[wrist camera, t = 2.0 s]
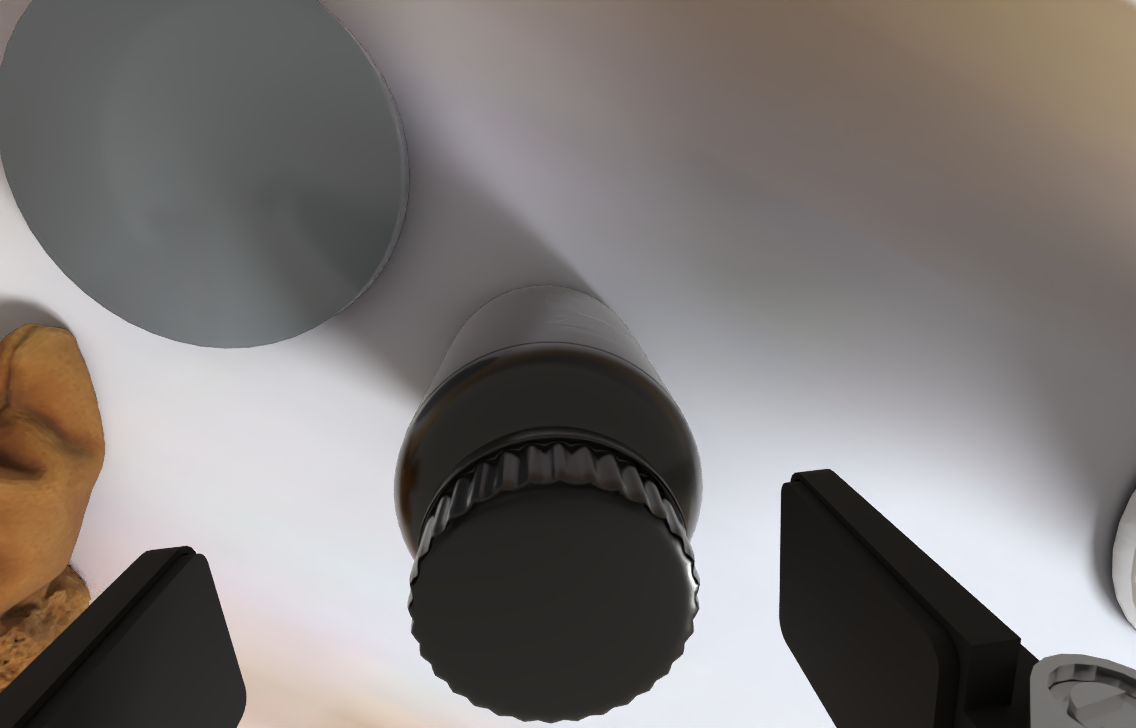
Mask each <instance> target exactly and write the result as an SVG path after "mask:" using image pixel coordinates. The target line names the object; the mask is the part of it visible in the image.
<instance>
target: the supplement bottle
mask: <svg viewBox="0 0 1136 728" xmlns="http://www.w3.org/2000/svg"><path fill="white" fill-rule="evenodd" d="M702 488H703V486H702V469H701V463H700V457H699V453H698V450H697V446H696V443H695V440H694V438H693V435H692V433H691V430H690V428H689V426H688V424H687V422H686V420H685V418H684V416H683V414H682V412H681V410H680V409H679V407H678V405H677V404H676V402H675V401H674V399H673V398H672V396H671V394H670V393H669V391H668V390H667V388H666V387H665V385H664V383H663V382H662V380H661V379H660V377H659V376H658V374H657V372H656V371H655V369H654V368H653V366H652V364H651V363H650V361H649V360H648V358H647V357H646V355H645V353H644V352H643V350H642V349H641V347H640V346H639V344H638V342H637V341H636V339H635V338H634V336H633V335H632V333H631V332H630V331H629V329H628V328H627V326H626V325H625V324H624V323H623V322H622V320H621V319H620V318H619V317H618V316H617V315H616V314H615V313H614V312H613V311H612V310H610V309H609V308H608V307H607V306H605V305H604V304H603V303H601V302H600V301H598V300H597V299H595V298H593V297H591V296H589V295H587V294H585V293H582V292H579V291H577V290H573V289H570V288H565V287H560V286H550V285H539V286H529V287H524V288H519V289H516V290H512V291H509V292H507V293H504V294H502V295H500V296H498V297H496V298H494V299H492V300H491V301H489V302H488V303H486V304H485V305H483V306H482V307H481V308H480V309H478V310H477V311H476V312H475V313H474V314H473V315H472V316H471V317H470V318H469V319H468V320H467V321H466V322H465V324H464V325H463V326H462V328H461V329H460V330H459V332H458V334H457V335H456V337H455V338H454V340H453V342H452V343H451V345H450V347H449V349H448V351H447V353H446V355H445V357H444V359H443V361H442V363H441V365H440V367H439V369H438V370H437V372H436V374H435V376H434V378H433V380H432V382H431V384H430V386H429V388H428V390H427V392H426V394H425V396H424V398H423V400H422V402H421V404H420V405H419V407H418V409H417V411H416V413H415V415H414V417H413V419H412V421H411V424H410V426H409V428H408V430H407V432H406V435H405V438H404V440H403V443H402V446H401V449H400V452H399V456H398V460H397V464H396V470H395V478H394V501H395V510H396V515H397V520H398V524H399V527H400V530H401V533H402V537H403V539H404V542H405V544H406V546H407V548H408V550H409V552H410V554H411V556H412V558H413V559H414V564H413V568H412V571H411V574H410V588H411V591H410V595H409V598H408V610H409V613H410V615H411V617H412V624H411V633H412V634H413V636H414V637H415V639H416V640H417V641H418V642H419V643H420V655H421V656H422V657H423V658H424V659H425V660H427V661H428V662H429V663H430V664H431V665H432V669H433V672H434V674H435V676H437V677H439V678H440V679H443V680H444V681H446V682H447V683H448V685H449V687H450V688H451V690H452V691H453V692H454V693H456V694H459V695H462V696H465V697H467V698H468V700H469V701H470V702H471V703H472V704H473V705H474V706H477V707H482V708H487V709H490V710H491V711H492V712H493V713H495V714H497V715H498V716H513V717H515V718H517V719H519V720H521V721H524V722H527V721H535V720H539V721H543V722H547V723H555V722H558V721H561V720H570V721H579V720H581V719H583V718H585V717H587V716H590V715H604V714H605V713H607V712H608V711H609V710H611V709H612V708H614V707H618V706H623V705H627V704H629V703H630V702H631V701H632V700H633V699H634V698H635V697H636V696H637V695H640V694H642V693H645V692H647V691H650V689H651V688H652V687H653V685H654V683H655V682H656V680H658V679H660V678H662V677H663V676H665V675H667V674H668V673H669V671H670V669H671V665H672V663H673V662H674V661H675V660H677V659H678V658H679V657H680V656H681V655H682V654H683V652H684V644H685V642H686V641H687V639H688V638H689V637H690V636H691V635H692V633H693V632H694V625H693V619H694V617H695V616H696V614H697V612H698V610H699V601H698V598H697V593H698V590H699V585H700V579H699V575H698V573H697V570H696V568H695V565H694V553H693V550H692V548H691V545H690V541H691V538H692V536H693V533H694V531H695V528H696V525H697V521H698V517H699V513H700V508H701V502H702Z"/></svg>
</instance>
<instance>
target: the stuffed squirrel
mask: <svg viewBox="0 0 1136 728" xmlns="http://www.w3.org/2000/svg"><path fill="white" fill-rule="evenodd" d="M104 456H105V442H104V433H103V428H102V422H101V416H100V412H99V409H98V402H97V398H96V394H95V391H94V388H93V385H92V381H91V378H90V375H89V372H88V369H87V366H86V364H85V361H84V359H83V357H82V355H81V353H80V351H79V349H78V344H77V341H76V339H75V338H74V336H73V335H72V334H71V333H70V331H68V330H65V329H61V328H57V327H48V326H42V325H39V324H25V325H23V326H21V327H19V328H18V329H16V330H15V331H13V332H12V333H10V334H8V335H7V336H6V337H5V338H4V339H3V340H2V341H1V342H0V693H1V692H2V691H3V690H4V689H5V688H6V687H7V686H8V685H9V684H10V683H11V682H12V681H13V680H14V679H15V678H16V677H17V676H18V675H19V674H20V673H21V672H22V671H23V670H24V669H25V668H26V667H27V666H28V665H29V664H30V663H31V662H32V661H33V660H34V659H35V658H36V657H37V656H38V655H40V654H41V653H42V652H43V651H44V650H45V649H46V648H47V647H48V646H49V645H50V644H51V643H52V642H53V641H54V640H55V639H56V638H57V637H58V636H59V635H60V634H61V633H62V632H63V631H64V630H65V629H66V628H67V627H68V626H69V625H70V624H71V623H72V622H73V621H74V620H75V619H76V618H77V617H78V616H79V615H80V614H81V613H82V612H83V611H84V610H85V609H86V608H88V607H89V601H90V600H91V597H90V593H89V590H88V589H87V588H86V586H85V585H84V582H83V581H82V580H80V578H79V576H78V574H77V573H76V572H74V571H73V570H72V569H71V568H70V567H69V566H67V565H68V563H69V561H70V558H71V555H72V552H73V549H74V546H75V544H76V541H77V538H78V535H79V532H80V529H81V525H82V521H83V517H84V514H85V510H86V507H87V505H88V502H89V498H90V495H91V491H92V489H93V487H94V484H95V482H96V480H97V478H98V476H99V473H100V471H101V469H102V466H103V461H104Z"/></svg>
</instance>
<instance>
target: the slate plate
mask: <svg viewBox="0 0 1136 728" xmlns="http://www.w3.org/2000/svg"><path fill="white" fill-rule="evenodd" d="M0 155H1V159H2V163H3V166H4V170H5V174H6V178H7V181H8V183H9V186H10V188H11V191H12V193H13V196H14V198H15V201H16V203H17V206H18V208H19V209H20V211H21V213H22V215H23V217H24V219H25V221H26V222H27V224H28V226H29V228H30V230H31V231H32V233H33V234H34V236H35V237H36V239H37V240H38V242H39V243H40V244H41V246H42V247H43V249H44V250H45V252H46V253H47V254H48V255H49V257H50V258H51V259H52V260H53V261H54V262H55V264H56V265H57V266H58V267H59V268H60V269H61V270H62V272H63V273H64V274H65V275H66V276H67V277H68V278H69V279H70V280H72V281H73V282H74V283H75V284H76V285H77V286H78V287H79V288H80V289H81V290H82V291H83V292H84V293H86V294H87V295H88V296H90V297H91V298H92V299H94V300H95V301H96V302H98V303H99V304H100V305H102V306H103V307H104V308H106V309H107V310H109V311H111V312H112V313H114V314H116V315H117V316H119V317H121V318H122V319H124V320H126V321H127V322H129V323H131V324H133V325H135V326H138V327H140V328H142V329H144V330H146V331H149V332H151V333H153V334H156V335H159V336H162V337H165V338H168V339H171V340H174V341H178V342H183V343H187V344H192V345H197V346H204V347H215V348H249V347H255V346H261V345H267V344H273V343H276V342H279V341H282V340H286V339H289V338H292V337H295V336H297V335H299V334H302V333H304V332H306V331H308V330H310V329H312V328H314V327H316V326H318V325H319V324H321V323H323V322H324V321H326V320H328V319H329V318H331V317H332V316H334V315H335V314H337V313H339V312H340V311H342V310H343V309H345V308H346V307H348V306H349V305H350V304H351V303H353V302H354V301H355V300H356V299H357V298H358V297H360V296H361V295H362V294H363V293H364V292H365V291H366V290H367V288H368V287H369V286H370V285H371V284H372V283H373V282H374V281H375V279H376V278H377V277H378V275H379V274H380V272H381V271H382V269H383V268H384V266H385V265H386V263H387V262H388V260H389V258H390V256H391V254H392V252H393V250H394V248H395V245H396V243H397V241H398V239H399V235H400V232H401V229H402V226H403V223H404V219H405V214H406V208H407V202H408V196H409V161H408V150H407V144H406V140H405V135H404V130H403V126H402V122H401V119H400V116H399V113H398V110H397V108H396V105H395V102H394V99H393V97H392V95H391V93H390V91H389V89H388V87H387V85H386V82H385V80H384V78H383V76H382V75H381V73H380V71H379V70H378V68H377V67H376V65H375V64H374V62H373V60H372V59H371V57H370V56H369V54H368V53H367V51H366V50H365V49H364V48H363V47H362V45H361V44H360V43H359V42H358V40H357V39H356V38H355V37H354V36H353V34H352V33H351V32H350V31H349V30H348V29H347V28H346V27H345V26H344V25H343V24H342V23H341V22H340V21H339V20H338V19H337V18H336V17H335V16H334V15H333V14H332V13H331V12H329V11H328V10H327V9H326V8H325V7H324V6H323V5H321V4H320V3H319V2H318V1H317V0H32V2H31V3H30V5H29V6H28V8H27V9H26V11H25V12H24V14H23V15H22V16H21V18H20V19H19V21H18V23H17V25H16V27H15V29H14V31H13V34H12V36H11V38H10V40H9V42H8V44H7V47H6V51H5V54H4V58H3V61H2V64H1V68H0Z"/></svg>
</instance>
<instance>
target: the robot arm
mask: <svg viewBox="0 0 1136 728" xmlns="http://www.w3.org/2000/svg"><path fill="white" fill-rule="evenodd" d="M1112 578H1113V583H1114V588H1115V592H1116V597H1117V600H1118V602H1119V604H1120V606H1121V608H1122V610H1123V612H1124V614H1125V616H1126V618H1127V620H1128V621H1129V622H1130V623H1131V624H1132V625H1133V626H1134V627H1135V629H1136V489H1135V491H1134V492H1133V494H1132V495H1131V497H1130V499H1129V502H1128V504H1127V506H1126V508H1125V511H1124V513H1123V515H1122V518H1121V520H1120V522H1119V526H1118V530H1117V534H1116V538H1115V543H1114V547H1113V561H1112ZM779 620H780V627H781V631H782V634H783V637H784V639H785V641H786V643H787V645H788V647H789V648H790V650H791V652H792V654H793V655H794V657H795V659H796V660H797V662H798V664H799V665H800V667H801V669H802V670H803V672H804V674H805V675H806V677H807V679H808V680H809V682H810V684H811V685H812V687H813V689H814V690H815V692H816V694H817V696H818V697H819V699H820V701H821V702H822V704H823V706H824V707H825V709H826V711H827V712H828V714H829V716H830V717H831V719H832V721H833V722H834V724H835V726H836V727H837V728H1136V670H1135V669H1132V668H1129V667H1126V666H1124V665H1121V664H1118V663H1115V662H1112V661H1110V660H1106V659H1102V658H1097V657H1092V656H1087V655H1081V654H1058V655H1054V656H1049V657H1045V658H1043V659H1042V660H1041V661H1039V660H1038V659H1037V658H1036V657H1035V656H1034V655H1032V654H1031V653H1030V652H1029V651H1028V650H1027V649H1026V648H1025V647H1024V646H1022V645H1021V644H1020V643H1021V638H1020V637H1019V636H1018V635H1017V634H1015V633H1014V632H1013V631H1012V630H1011V629H1010V628H1009V627H1008V626H1006V625H1005V624H1004V623H1003V622H1002V621H1001V620H1000V619H999V618H997V617H996V616H995V615H994V614H993V613H992V612H991V611H990V610H989V609H987V608H986V607H985V606H984V605H983V604H982V603H981V602H980V601H978V600H977V599H976V598H975V597H974V596H973V595H972V594H971V593H969V592H968V591H967V590H966V589H965V588H964V587H963V586H962V585H960V584H959V583H958V582H957V581H956V580H955V579H954V578H953V577H951V576H950V575H949V574H948V573H947V572H946V571H945V570H944V569H942V568H941V567H940V566H939V565H938V564H937V563H936V562H935V561H933V560H932V559H931V558H930V557H929V556H928V555H927V554H926V553H925V552H923V551H922V550H921V549H920V548H919V547H918V546H917V545H916V544H914V543H913V542H912V541H911V540H910V539H909V538H908V537H907V536H905V535H904V534H903V533H902V532H901V531H900V530H899V529H898V528H896V527H895V526H894V525H893V524H892V523H891V522H890V521H889V520H887V519H886V518H885V517H884V516H883V515H882V514H881V513H880V512H878V511H877V510H876V509H875V508H874V507H873V506H872V505H871V504H869V503H868V502H867V501H866V500H865V499H864V498H863V497H862V496H861V495H859V494H858V493H857V492H856V491H855V490H854V489H853V488H852V487H850V486H849V485H848V484H847V483H846V482H845V481H844V480H843V479H841V478H840V477H839V476H838V475H837V474H836V473H835V472H834V471H832V470H830V469H822V470H814V471H806V472H797V473H794V474H793V475H792V478H791V481H790V482H788V483H784V484H783V486H782V489H781V535H780V603H779ZM245 706H246V689H245V685H244V682H243V678H242V675H241V672H240V668H239V665H238V662H237V658H236V655H235V652H234V648H233V645H232V641H231V638H230V635H229V631H228V628H227V625H226V621H225V618H224V615H223V611H222V608H221V605H220V601H219V598H218V594H217V591H216V588H215V584H214V581H213V578H212V574H211V571H210V568H209V564H208V561H207V559H206V557H205V556H204V555H202V554H196V552H195V551H194V550H193V549H192V548H191V547H189V546H181V547H173V548H165V549H157V550H150V551H146V552H145V553H143V554H142V555H141V556H140V557H139V558H138V559H137V560H136V561H134V562H133V563H132V564H131V565H130V566H129V567H128V568H127V569H126V570H125V571H124V572H123V573H122V574H121V575H120V576H119V577H118V578H117V579H116V580H115V581H114V582H113V583H112V584H111V585H110V586H109V587H108V588H107V589H106V590H105V591H104V592H103V593H102V594H101V595H100V596H99V597H98V598H97V599H96V600H95V601H94V602H93V603H92V604H91V605H90V606H89V607H88V608H86V609H85V610H84V611H83V612H82V613H81V614H80V615H79V616H78V617H77V618H76V619H75V620H74V621H73V622H72V623H71V624H70V625H69V626H68V627H67V628H66V629H65V630H64V631H63V632H62V633H61V634H60V635H59V636H58V637H57V638H56V639H55V640H54V641H53V642H52V643H51V644H50V645H49V646H48V647H47V648H46V649H45V650H44V651H43V652H42V653H41V654H40V655H38V656H37V657H36V658H35V659H34V660H33V661H32V662H31V663H30V664H29V665H28V666H27V667H26V668H25V669H24V670H23V671H22V672H21V673H20V674H19V675H18V676H17V677H16V678H15V679H14V680H13V681H12V682H11V683H10V684H9V685H8V686H7V687H6V688H5V689H4V690H3V691H2V692H1V693H0V728H237V726H238V724H239V722H240V720H241V718H242V716H243V713H244V710H245Z"/></svg>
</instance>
